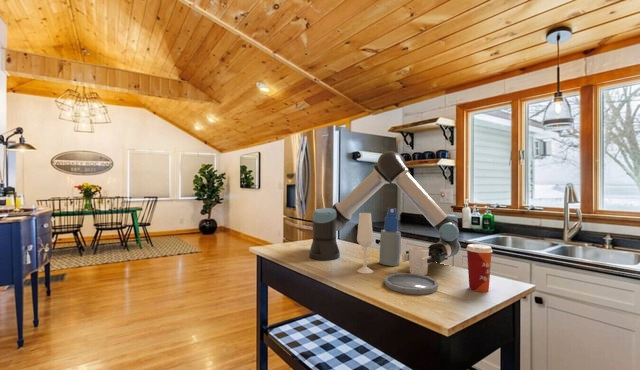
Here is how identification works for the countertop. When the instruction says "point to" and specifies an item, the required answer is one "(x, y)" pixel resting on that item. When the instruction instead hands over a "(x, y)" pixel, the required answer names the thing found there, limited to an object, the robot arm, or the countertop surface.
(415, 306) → the countertop surface
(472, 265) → the coffee cup
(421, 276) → the plate
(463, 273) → the countertop surface
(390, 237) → the spray bottle
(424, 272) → the white cup
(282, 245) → the countertop surface
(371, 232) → the champagne flute
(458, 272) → the countertop surface
